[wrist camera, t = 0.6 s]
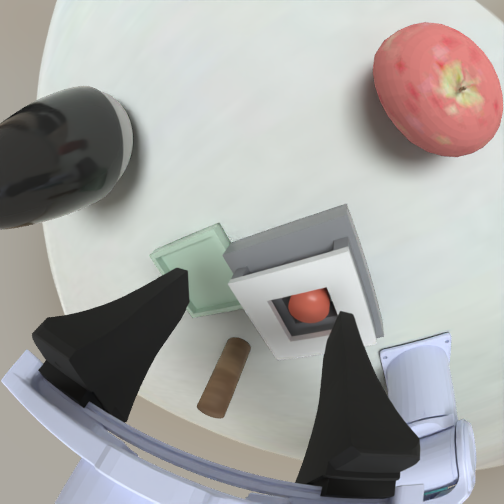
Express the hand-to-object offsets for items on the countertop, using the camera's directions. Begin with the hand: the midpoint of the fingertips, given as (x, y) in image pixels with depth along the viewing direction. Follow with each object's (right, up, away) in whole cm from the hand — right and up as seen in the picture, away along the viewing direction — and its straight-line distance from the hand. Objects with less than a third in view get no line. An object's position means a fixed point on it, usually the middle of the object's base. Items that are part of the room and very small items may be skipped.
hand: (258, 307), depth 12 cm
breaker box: (+5, 0, +11) cm, 12 cm away
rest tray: (-5, 0, +13) cm, 14 cm away
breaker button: (+4, -1, +10) cm, 11 cm away
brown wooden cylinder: (-2, -8, +18) cm, 20 cm away
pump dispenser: (-13, +13, +9) cm, 21 cm away
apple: (+11, +13, +1) cm, 17 cm away
